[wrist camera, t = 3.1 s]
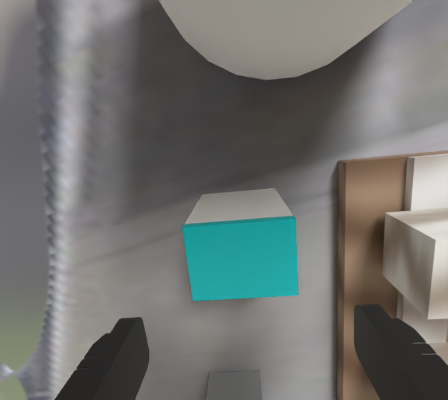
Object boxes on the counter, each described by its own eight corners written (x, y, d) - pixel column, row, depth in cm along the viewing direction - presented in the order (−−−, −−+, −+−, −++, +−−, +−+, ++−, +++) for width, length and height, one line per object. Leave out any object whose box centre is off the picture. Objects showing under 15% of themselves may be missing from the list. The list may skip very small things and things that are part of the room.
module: (202, 194, 22) (182, 227, 14) (274, 188, 21) (295, 218, 14) (208, 244, 23) (192, 300, 15) (277, 239, 22) (298, 295, 15)
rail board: (338, 160, 20) (390, 175, 13) (503, 145, 19) (654, 152, 12) (337, 400, 26) (373, 499, 19) (464, 397, 25) (552, 500, 18)
